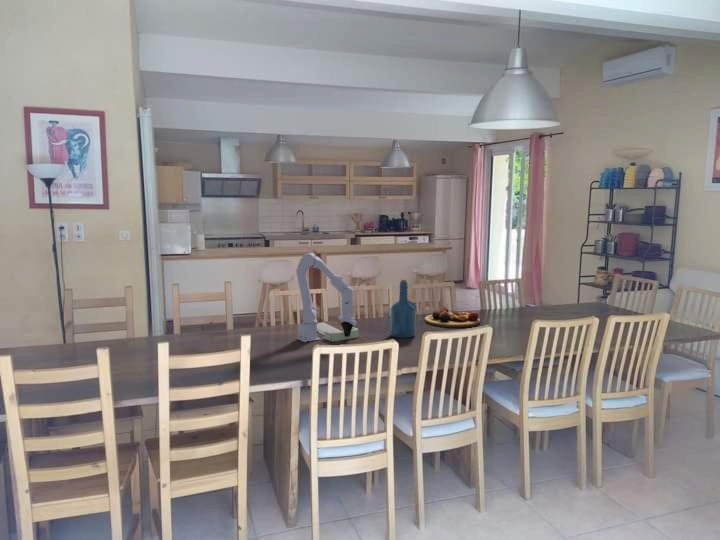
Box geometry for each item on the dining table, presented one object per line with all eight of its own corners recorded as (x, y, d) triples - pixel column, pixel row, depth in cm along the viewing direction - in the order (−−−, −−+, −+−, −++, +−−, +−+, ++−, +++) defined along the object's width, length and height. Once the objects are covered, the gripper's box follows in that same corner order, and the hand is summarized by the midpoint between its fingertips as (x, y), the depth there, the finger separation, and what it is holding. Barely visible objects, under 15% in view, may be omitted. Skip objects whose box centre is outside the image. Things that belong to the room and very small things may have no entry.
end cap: (331, 341, 269) (331, 334, 268) (324, 338, 274) (324, 331, 274) (360, 337, 278) (360, 329, 278) (352, 334, 284) (352, 326, 283)
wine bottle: (386, 337, 278) (386, 280, 274) (395, 331, 290) (396, 276, 286) (411, 340, 272) (412, 282, 268) (419, 334, 284) (420, 278, 280)
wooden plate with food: (490, 321, 315) (490, 307, 314) (461, 331, 291) (461, 316, 290) (444, 314, 336) (444, 301, 335) (413, 322, 312) (413, 309, 311)
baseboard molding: (328, 340, 274) (349, 337, 280) (328, 334, 274) (349, 332, 279) (304, 327, 301) (323, 325, 307) (304, 322, 300) (323, 320, 306)
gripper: (362, 311, 267) (361, 338, 268) (346, 306, 278) (346, 332, 280) (350, 313, 263) (350, 340, 265) (334, 308, 275) (334, 334, 276)
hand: (347, 336), depth 272 cm, fingers closed
